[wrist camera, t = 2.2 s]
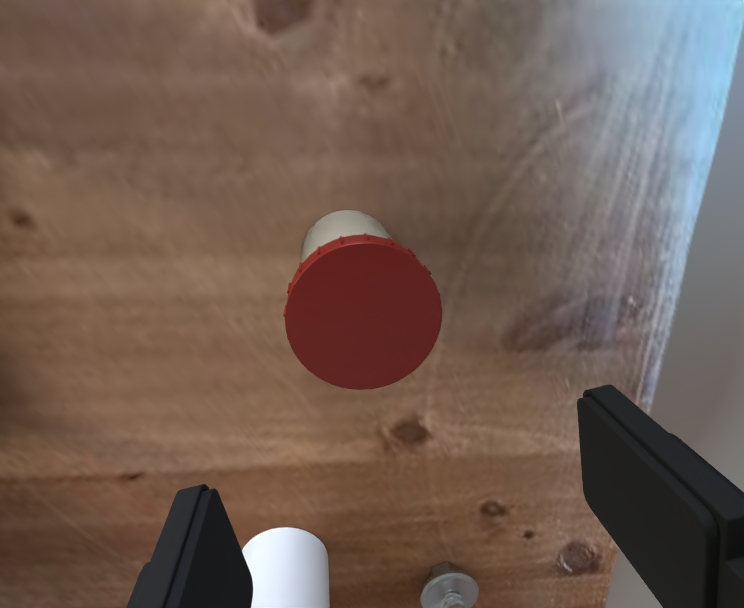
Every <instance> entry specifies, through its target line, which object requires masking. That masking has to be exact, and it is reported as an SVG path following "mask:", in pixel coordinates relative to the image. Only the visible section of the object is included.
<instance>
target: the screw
mask: <svg viewBox="0 0 744 608" xmlns="http://www.w3.org/2000/svg"><path fill="white" fill-rule="evenodd" d="M478 594H479V589H478V585H477V582H476V580H475V578H474V577H473V576H472V575H471V574H469V573H467V572H465V571H461V570H459V568H457V567H455V566H454V565H452V564H450V563H448V562H445V563H442V564H440V565H437V566H434V567H432V569H431V573H430V576H429V579H428V580H427V581H426V582H425V583H424V585H423V586H422V589H421V591H420V600H421V604H422V606H423V608H471V607H472V605H473V604H474V603H475V601H476V600H477V597H478Z"/></svg>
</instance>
